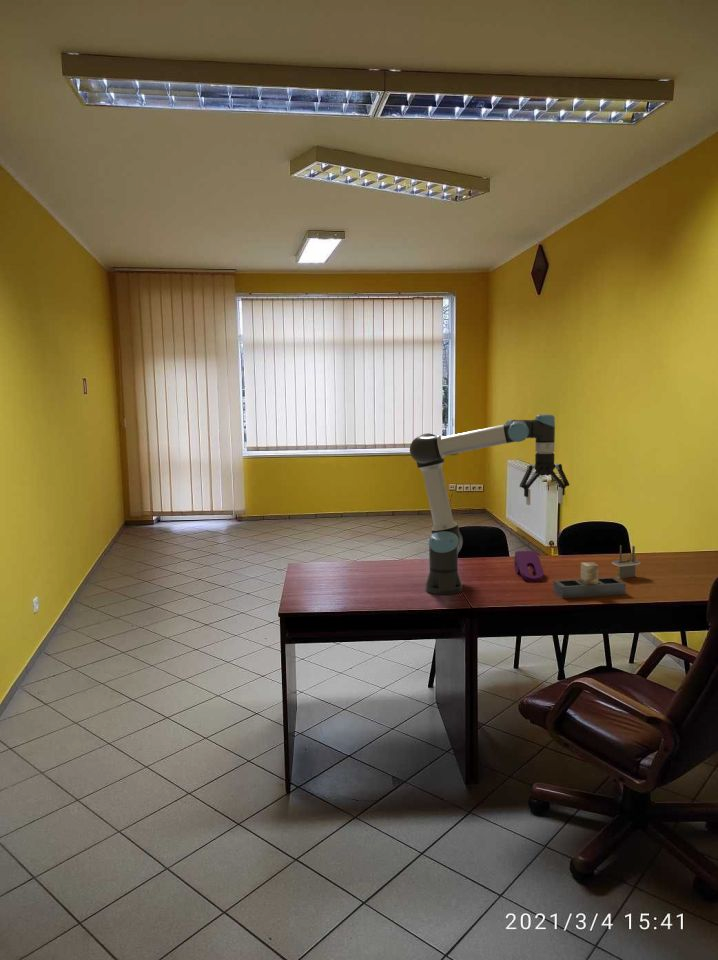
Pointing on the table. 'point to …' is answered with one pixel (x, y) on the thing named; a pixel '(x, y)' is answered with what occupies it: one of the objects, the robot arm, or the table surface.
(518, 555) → the mounting bracket
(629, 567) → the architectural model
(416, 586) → the table surface
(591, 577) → the peg
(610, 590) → the dark grey long frame
